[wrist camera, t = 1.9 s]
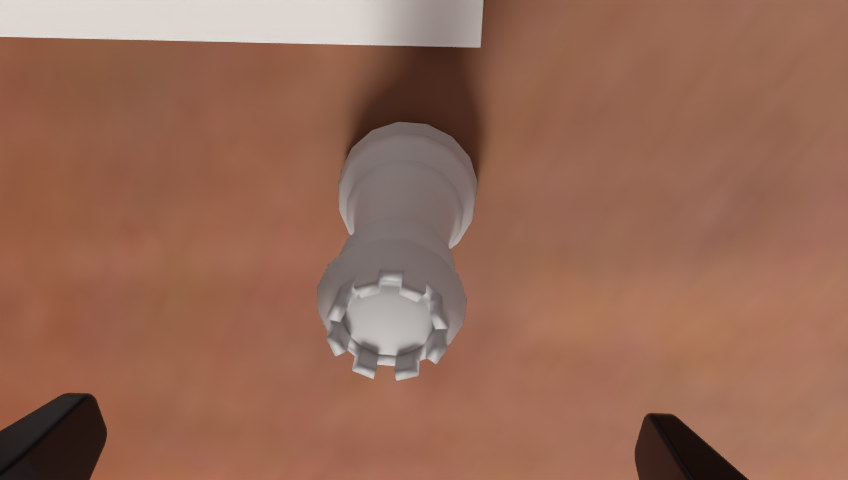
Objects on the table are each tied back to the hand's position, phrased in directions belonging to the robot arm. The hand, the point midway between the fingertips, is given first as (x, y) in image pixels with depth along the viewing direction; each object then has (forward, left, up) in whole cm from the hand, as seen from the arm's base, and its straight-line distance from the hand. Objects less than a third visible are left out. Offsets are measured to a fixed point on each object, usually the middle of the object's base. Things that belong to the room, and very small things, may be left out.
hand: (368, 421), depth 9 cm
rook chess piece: (0, 0, -10) cm, 11 cm away
